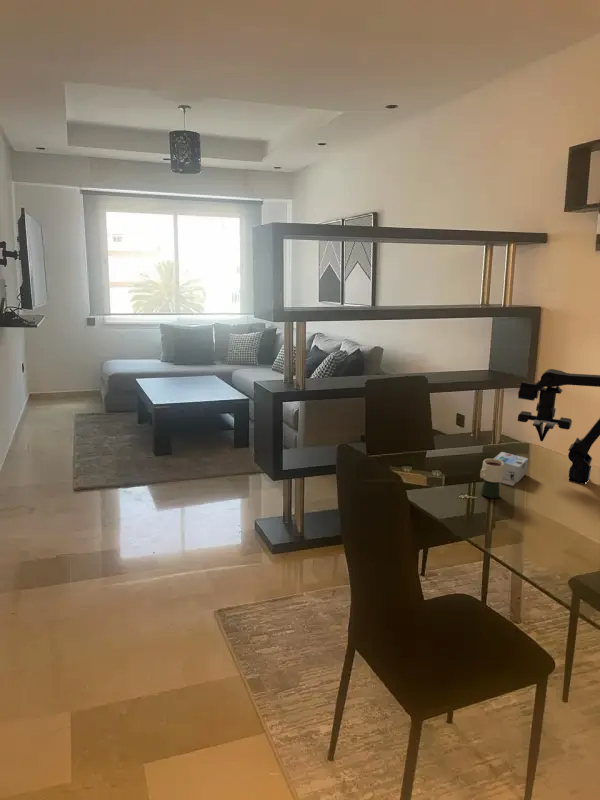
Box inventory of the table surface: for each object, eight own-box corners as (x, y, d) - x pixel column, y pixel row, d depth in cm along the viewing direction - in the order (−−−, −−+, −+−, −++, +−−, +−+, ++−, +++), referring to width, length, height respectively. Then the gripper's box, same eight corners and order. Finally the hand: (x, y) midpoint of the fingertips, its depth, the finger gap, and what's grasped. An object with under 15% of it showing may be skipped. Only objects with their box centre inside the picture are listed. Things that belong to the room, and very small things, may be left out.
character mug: (494, 488, 221) (497, 456, 217) (508, 496, 215) (512, 463, 211) (471, 494, 216) (474, 461, 212) (485, 502, 210) (489, 468, 206)
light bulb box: (519, 466, 223) (491, 459, 229) (517, 483, 225) (489, 475, 231) (528, 458, 231) (501, 451, 237) (526, 473, 233) (499, 466, 239)
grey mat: (525, 471, 236) (525, 470, 235) (513, 485, 223) (513, 484, 223) (495, 464, 242) (495, 463, 242) (481, 477, 230) (481, 476, 230)
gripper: (576, 401, 229) (571, 439, 234) (526, 393, 238) (521, 430, 243) (571, 408, 220) (566, 448, 225) (519, 400, 229) (515, 438, 234)
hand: (541, 440), depth 232 cm, fingers closed
